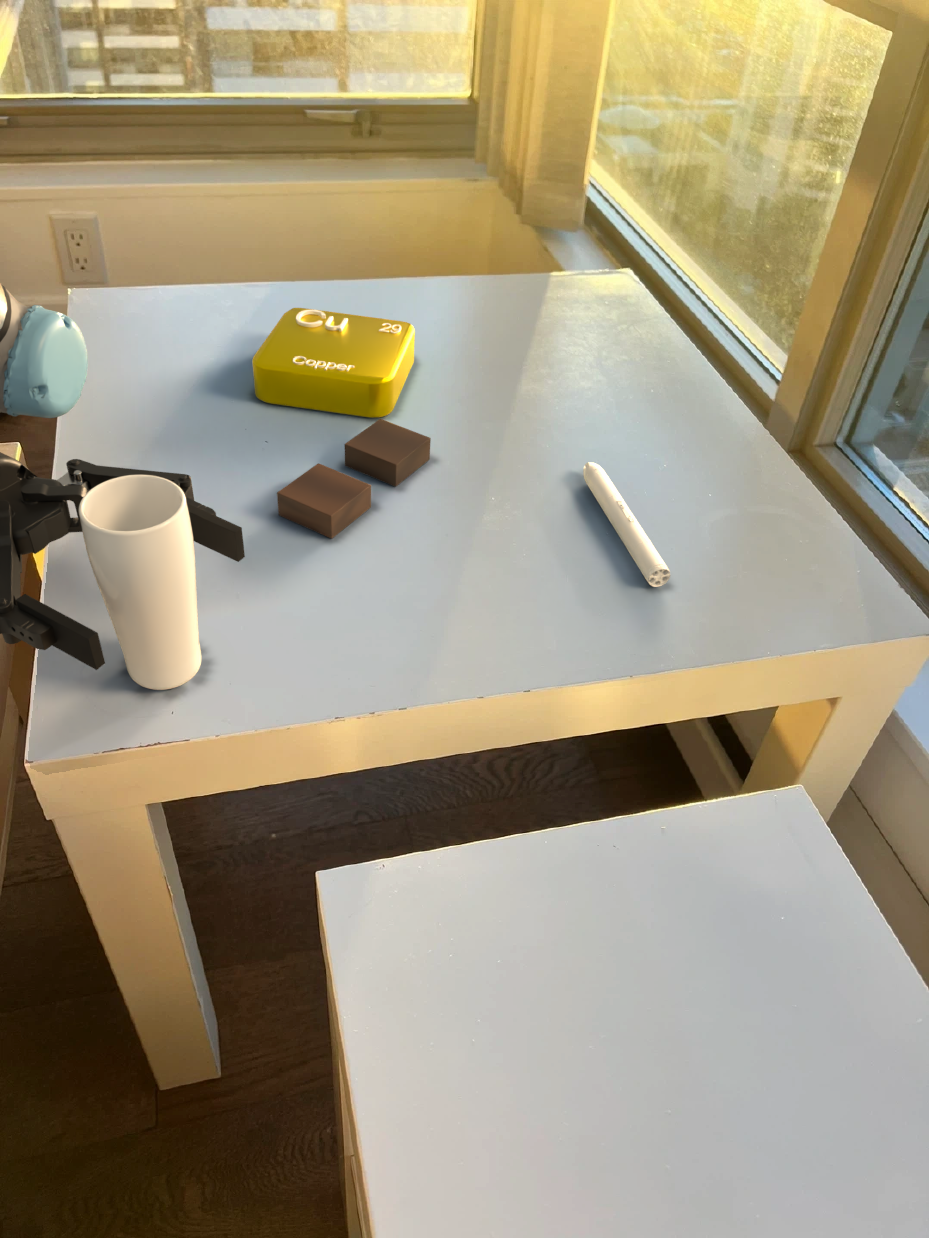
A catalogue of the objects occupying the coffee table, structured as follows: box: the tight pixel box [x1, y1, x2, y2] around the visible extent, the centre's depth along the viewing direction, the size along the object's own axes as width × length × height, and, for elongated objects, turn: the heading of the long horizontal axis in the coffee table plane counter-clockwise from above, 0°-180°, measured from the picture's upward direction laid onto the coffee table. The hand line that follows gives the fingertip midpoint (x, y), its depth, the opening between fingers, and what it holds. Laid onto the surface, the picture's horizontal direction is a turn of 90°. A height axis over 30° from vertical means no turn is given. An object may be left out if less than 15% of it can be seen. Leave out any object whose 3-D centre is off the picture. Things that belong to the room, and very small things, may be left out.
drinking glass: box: [79, 475, 203, 691], centre depth 66 cm, size 7×7×15 cm
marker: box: [582, 461, 671, 588], centre depth 88 cm, size 18×2×2 cm, turn 15°
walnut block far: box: [344, 418, 432, 488], centre depth 93 cm, size 6×6×2 cm
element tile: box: [251, 307, 416, 419], centre depth 104 cm, size 15×15×5 cm
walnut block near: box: [276, 463, 372, 540], centre depth 87 cm, size 6×6×2 cm
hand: (173, 594), depth 65 cm, fingers open, 13 cm apart
